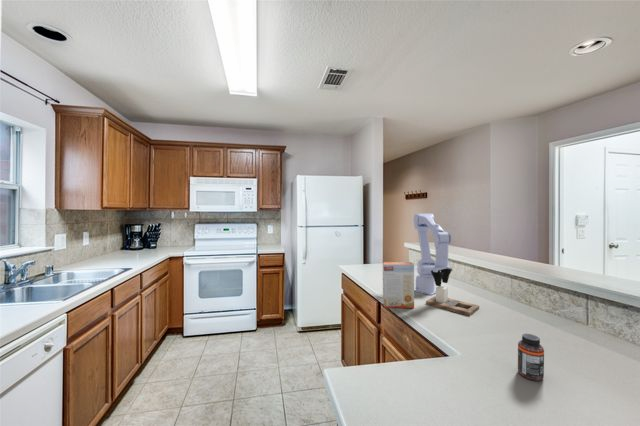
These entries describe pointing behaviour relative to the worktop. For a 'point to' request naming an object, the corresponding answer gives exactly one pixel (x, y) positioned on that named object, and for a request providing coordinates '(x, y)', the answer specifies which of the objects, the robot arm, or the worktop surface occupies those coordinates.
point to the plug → (442, 294)
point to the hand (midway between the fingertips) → (441, 284)
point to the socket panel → (454, 306)
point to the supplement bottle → (531, 357)
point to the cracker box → (398, 284)
